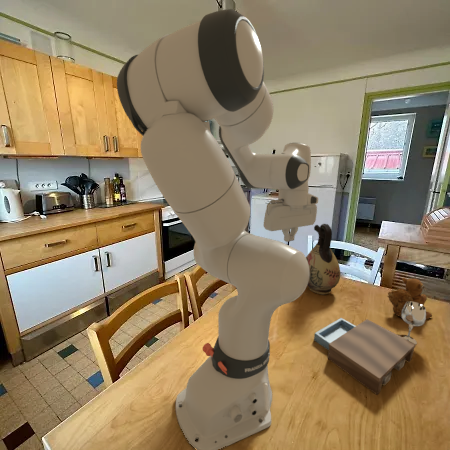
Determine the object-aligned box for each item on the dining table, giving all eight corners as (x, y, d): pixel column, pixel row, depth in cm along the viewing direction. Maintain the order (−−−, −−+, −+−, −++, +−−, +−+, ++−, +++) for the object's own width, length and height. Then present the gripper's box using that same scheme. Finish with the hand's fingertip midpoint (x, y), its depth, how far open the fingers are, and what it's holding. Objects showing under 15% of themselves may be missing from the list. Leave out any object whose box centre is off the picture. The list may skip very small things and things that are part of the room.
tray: (375, 383, 60) (377, 375, 59) (313, 340, 74) (314, 333, 74) (400, 359, 67) (402, 351, 67) (340, 324, 82) (341, 317, 81)
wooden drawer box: (376, 395, 56) (379, 378, 55) (326, 359, 67) (328, 343, 66) (412, 359, 67) (415, 344, 66) (364, 332, 78) (367, 319, 76)
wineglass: (423, 348, 71) (432, 312, 68) (401, 345, 72) (409, 310, 69) (413, 334, 77) (420, 301, 74) (393, 332, 78) (400, 299, 75)
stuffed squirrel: (433, 317, 86) (442, 284, 82) (407, 326, 81) (415, 291, 78) (404, 302, 95) (411, 272, 91) (379, 310, 90) (385, 278, 87)
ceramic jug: (296, 280, 112) (301, 217, 105) (329, 281, 112) (337, 218, 104) (306, 300, 96) (314, 227, 88) (346, 301, 95) (356, 228, 88)
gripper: (275, 201, 67) (271, 248, 70) (321, 198, 78) (317, 239, 81) (260, 198, 72) (258, 242, 75) (306, 195, 83) (302, 234, 86)
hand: (289, 240), depth 78 cm, fingers closed
